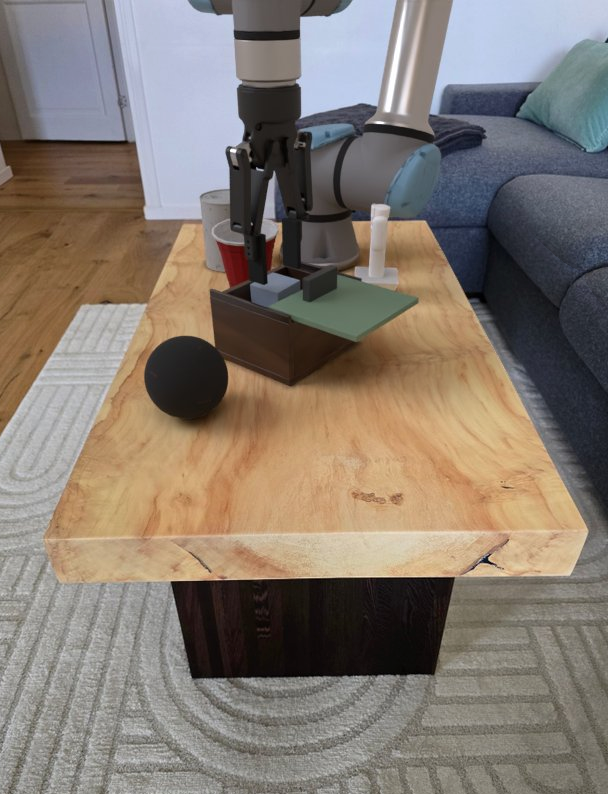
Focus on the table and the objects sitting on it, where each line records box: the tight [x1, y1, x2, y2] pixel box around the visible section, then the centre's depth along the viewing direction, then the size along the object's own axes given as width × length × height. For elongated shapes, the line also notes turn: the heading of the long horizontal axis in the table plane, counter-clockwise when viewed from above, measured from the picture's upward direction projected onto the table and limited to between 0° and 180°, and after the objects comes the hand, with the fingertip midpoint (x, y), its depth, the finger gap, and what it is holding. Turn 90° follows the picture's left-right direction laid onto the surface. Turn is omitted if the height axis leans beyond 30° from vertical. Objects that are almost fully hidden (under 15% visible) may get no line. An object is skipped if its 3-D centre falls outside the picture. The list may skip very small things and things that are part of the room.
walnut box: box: [209, 261, 362, 387], centre depth 90 cm, size 16×14×10 cm
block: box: [250, 273, 300, 308], centre depth 90 cm, size 5×5×5 cm
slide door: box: [269, 265, 420, 342], centre depth 81 cm, size 14×14×4 cm
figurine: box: [353, 204, 399, 291], centre depth 104 cm, size 7×9×15 cm
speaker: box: [143, 335, 229, 420], centre depth 77 cm, size 10×10×10 cm
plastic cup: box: [212, 217, 280, 288], centre depth 104 cm, size 11×11×12 cm
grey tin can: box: [199, 188, 230, 273], centre depth 117 cm, size 10×10×12 cm
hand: (275, 273), depth 87 cm, fingers open, 6 cm apart
